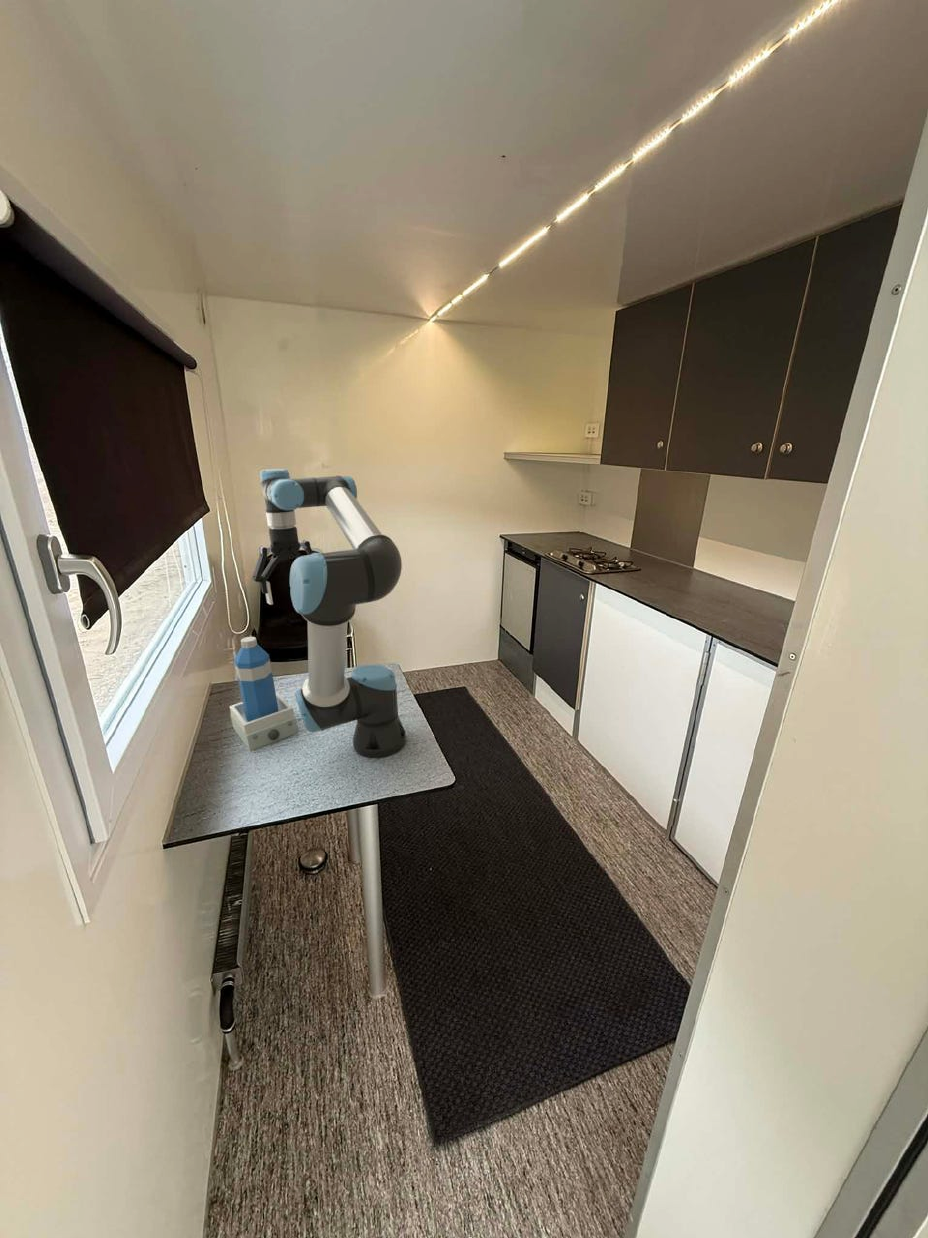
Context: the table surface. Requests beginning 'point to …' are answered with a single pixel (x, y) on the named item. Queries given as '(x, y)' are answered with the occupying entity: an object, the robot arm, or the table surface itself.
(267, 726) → the open storage box
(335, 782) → the table surface
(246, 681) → the water bottle
